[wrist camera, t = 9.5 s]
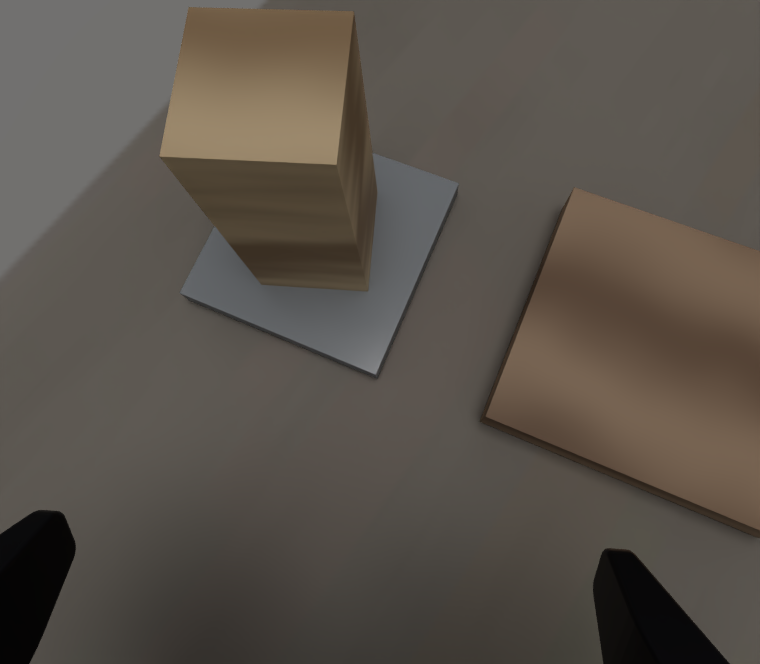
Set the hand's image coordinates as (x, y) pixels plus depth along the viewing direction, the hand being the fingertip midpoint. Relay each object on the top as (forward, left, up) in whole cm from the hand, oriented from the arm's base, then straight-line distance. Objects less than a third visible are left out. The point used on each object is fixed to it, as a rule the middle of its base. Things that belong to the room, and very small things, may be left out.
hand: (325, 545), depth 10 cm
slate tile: (+9, +7, -14) cm, 18 cm away
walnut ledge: (+10, -8, -14) cm, 18 cm away
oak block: (+9, +7, -13) cm, 17 cm away
